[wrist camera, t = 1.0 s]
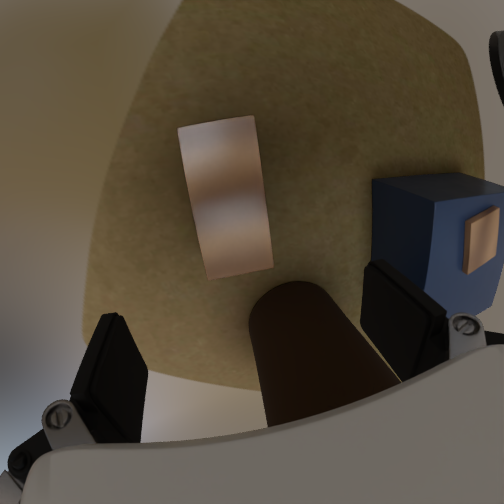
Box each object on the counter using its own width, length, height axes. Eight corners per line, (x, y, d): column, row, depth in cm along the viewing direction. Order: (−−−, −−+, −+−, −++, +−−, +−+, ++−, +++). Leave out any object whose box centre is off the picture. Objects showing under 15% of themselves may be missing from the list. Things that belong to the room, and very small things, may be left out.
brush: (182, 130, 21) (176, 127, 16) (243, 119, 21) (254, 114, 16) (206, 254, 25) (207, 281, 20) (261, 243, 25) (274, 268, 21)
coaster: (493, 205, 18) (499, 207, 17) (490, 252, 20) (495, 255, 19) (464, 220, 18) (471, 223, 17) (461, 271, 20) (467, 275, 19)
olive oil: (221, 323, 28) (268, 586, 5) (300, 254, 27) (475, 508, 4) (284, 367, 32) (354, 557, 10) (352, 312, 31) (478, 491, 8)
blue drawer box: (464, 172, 26) (519, 190, 18) (453, 271, 32) (496, 303, 24) (371, 179, 25) (434, 202, 17) (367, 300, 30) (409, 349, 22)
